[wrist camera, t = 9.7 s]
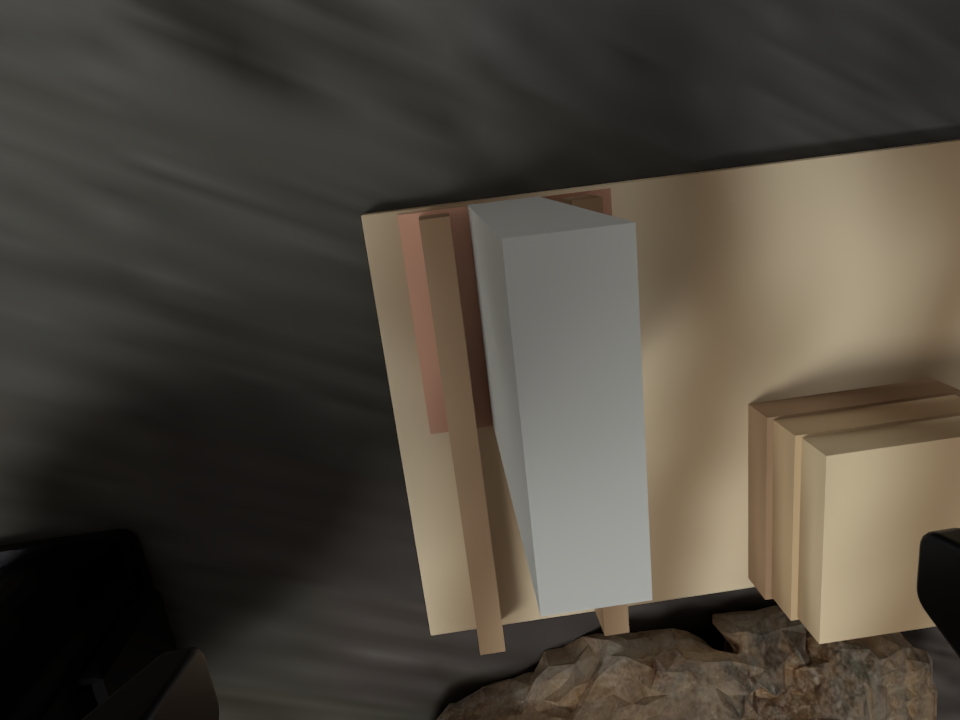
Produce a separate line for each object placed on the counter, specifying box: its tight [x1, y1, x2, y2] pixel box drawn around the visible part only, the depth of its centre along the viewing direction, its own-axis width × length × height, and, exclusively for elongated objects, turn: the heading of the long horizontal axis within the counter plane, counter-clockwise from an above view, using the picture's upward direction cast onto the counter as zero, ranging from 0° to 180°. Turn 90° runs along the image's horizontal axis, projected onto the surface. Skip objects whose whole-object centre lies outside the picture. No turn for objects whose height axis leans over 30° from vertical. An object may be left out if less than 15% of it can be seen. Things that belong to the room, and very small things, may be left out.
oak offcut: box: [771, 395, 960, 621], centre depth 20 cm, size 6×6×1 cm
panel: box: [467, 196, 652, 617], centre depth 15 cm, size 2×7×9 cm, turn 6°
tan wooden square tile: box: [748, 378, 960, 600], centre depth 21 cm, size 6×6×1 cm
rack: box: [361, 139, 960, 655], centre depth 20 cm, size 18×14×2 cm
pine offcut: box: [797, 416, 960, 644], centre depth 19 cm, size 5×6×1 cm
